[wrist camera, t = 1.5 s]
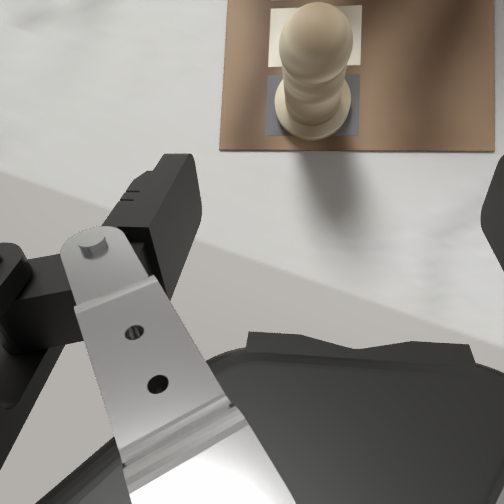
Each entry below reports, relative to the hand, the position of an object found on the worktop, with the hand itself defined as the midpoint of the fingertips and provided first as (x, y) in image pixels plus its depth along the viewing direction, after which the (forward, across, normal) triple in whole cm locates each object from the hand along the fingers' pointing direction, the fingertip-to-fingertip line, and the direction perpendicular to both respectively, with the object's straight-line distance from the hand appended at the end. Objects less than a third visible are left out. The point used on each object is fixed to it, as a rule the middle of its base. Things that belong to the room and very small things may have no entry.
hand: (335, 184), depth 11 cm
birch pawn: (+21, +1, +5) cm, 22 cm away
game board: (+27, -2, 0) cm, 27 cm away
